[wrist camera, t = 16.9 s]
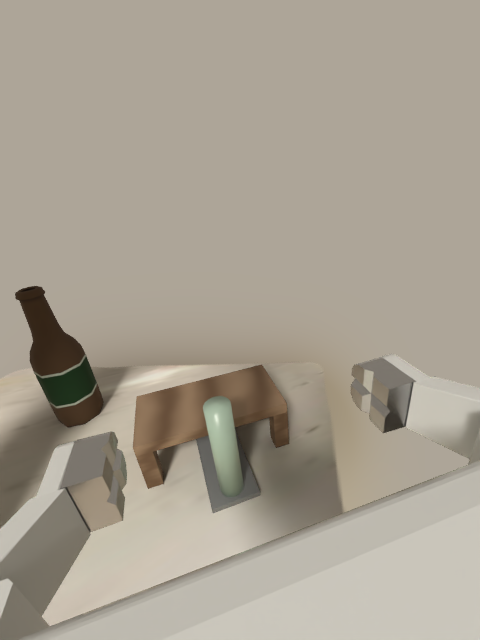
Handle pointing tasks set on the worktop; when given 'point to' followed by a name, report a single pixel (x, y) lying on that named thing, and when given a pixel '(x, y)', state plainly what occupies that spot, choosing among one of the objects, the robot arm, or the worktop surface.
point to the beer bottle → (59, 363)
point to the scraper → (224, 458)
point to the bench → (188, 416)
